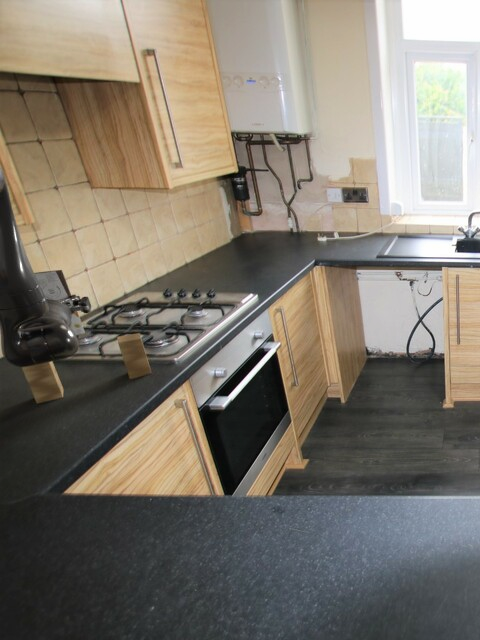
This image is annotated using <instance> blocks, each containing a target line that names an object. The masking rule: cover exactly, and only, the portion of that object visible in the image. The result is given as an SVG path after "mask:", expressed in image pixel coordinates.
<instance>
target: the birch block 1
mask: <svg viewBox="0 0 480 640" xmlns="http://www.w3.org/2000/svg"><path fill="white" fill-rule="evenodd" d="M21 369H22V372H23V374H24V378H25V379H26V381H27V383H28V386H29V389H30V391H31V393H32V396H33V398H34V400H35V403H36V404H41V403H45V402H50V401H54V400H58V399H62V398H64V390H65V389H64V387H63V384H62V382H61V379H60V377H59V374H58V372H57V369H56V367H55V364H54V361H51V362H47V363H42V364H38V365H33V366H28V367H21Z"/></svg>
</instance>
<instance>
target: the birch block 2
mask: <svg viewBox="0 0 480 640" xmlns="http://www.w3.org/2000/svg"><path fill="white" fill-rule="evenodd" d="M116 340H117V344H118V347H119V350H120V353H121V356H122V360H123V363H124V365H125V369H126V372H127V375H128V379H129V380H133V379H136V378H140V377H143V376H147V375H151V374H152V369H151V366H150V363H149V359H148V356H147V353H146V349H145V345H144V342H143V340H142V337H141V333H140V332H138V333H132V334H127V335H126V334H125V335H121V336H116Z"/></svg>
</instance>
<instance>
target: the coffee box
mask: <svg viewBox="0 0 480 640" xmlns="http://www.w3.org/2000/svg"><path fill="white" fill-rule="evenodd" d="M34 274H35V276H36V278H37V280H38V282H39V285H40V287H41V289H42V291H43V293H44V295H45V298H46V299H52V300H56V301H60V300H63V299H71V296H72V294H71V291H70V289H69V285H68V283H67V280H66V277H65V275H64V272H63V269H57V270H46V271H38V272H34ZM64 304H65V303H64ZM70 328H71V329H72V330H73V332H74V333H75V335H76V336H79V335H85V334H86V332H85V328H84V325H83V323H82V320H81V318H80V315H79V311H75V313H74V314H72V317H71V325H70Z"/></svg>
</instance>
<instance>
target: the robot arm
mask: <svg viewBox="0 0 480 640" xmlns="http://www.w3.org/2000/svg"><path fill="white" fill-rule="evenodd" d="M9 191H10V190H9V188H8V183H7V180H6V176H5V173H4V171H3V168H2V167H1V166H0V349H1V353H2V356H3V358H4V359H5V361H6V362H7V363H9V364H10V365H12V366H15V367H18V368H22V367H28V366H33V365H38V364H42V363H47V362H51V361H53V362H55V361H60V360H64V359H68V358H71V357H73V356H74V355H75V354H76V353H77V352H78V350H79V345H80V343H79V338H78V335H75V333H74V332H73V330H72V329H71V328H70V325H71V317H72V314H74V313H75V311H77V312H81V313H83V314H89V313H91V310H92V304H91V301H90V298H89V296H82V297H81V296H80V295H76V294H71V299H63V300H60V301H56V300H52V299H46V298H45V295H44V293H43V291H42V289H41V287H40V285H39V282H38V280H37V278H36V276H35V274H34V273H35V272H34V270H33V268H32V265H31V263H30V261H29V258H28V255H27V251H26V250H25V247H24V244H23V240H22V238H21V234H20V231H19V228H18V224H17V221H16V216H15V213H14V209H13V206H12V201H11V197H10V192H9ZM64 303H65V304H64Z"/></svg>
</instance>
